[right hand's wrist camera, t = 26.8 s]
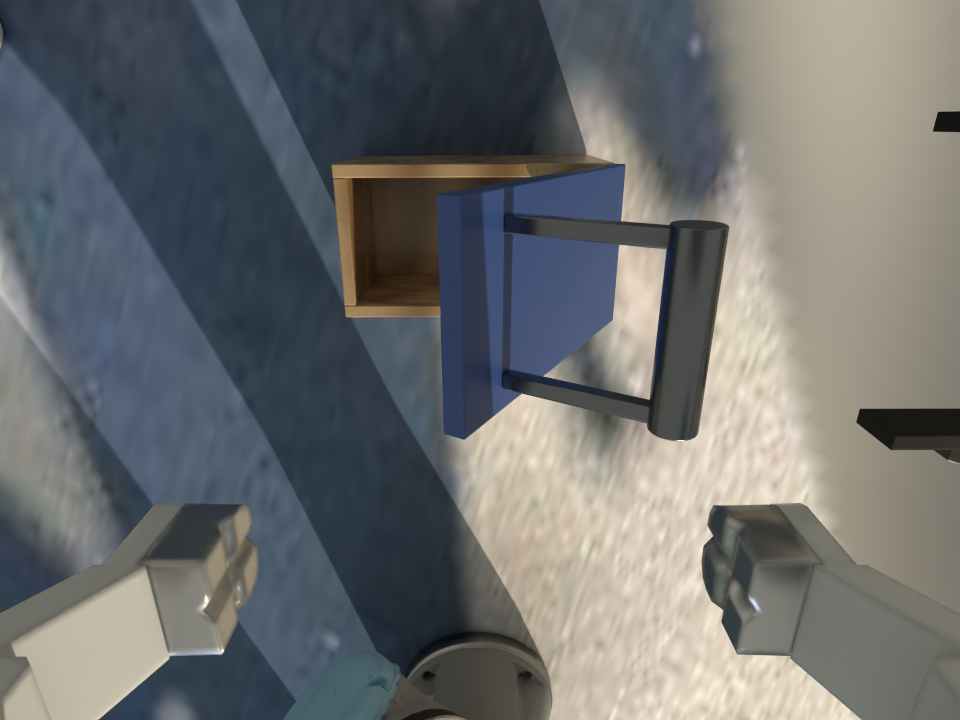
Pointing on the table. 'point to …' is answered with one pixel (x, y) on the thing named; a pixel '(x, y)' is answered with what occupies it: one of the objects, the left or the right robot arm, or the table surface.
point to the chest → (411, 222)
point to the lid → (565, 298)
